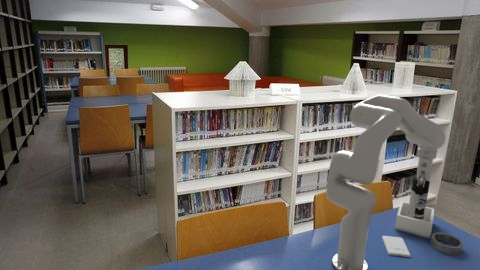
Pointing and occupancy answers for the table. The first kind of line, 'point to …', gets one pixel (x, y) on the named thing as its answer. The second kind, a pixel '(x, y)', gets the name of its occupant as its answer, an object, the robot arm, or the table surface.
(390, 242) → the external hard drive
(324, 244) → the table surface
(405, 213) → the bin
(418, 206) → the spray can
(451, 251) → the collar
